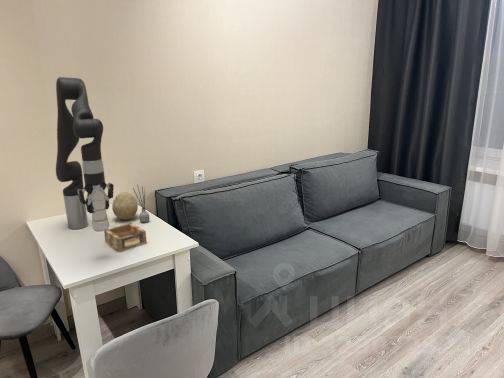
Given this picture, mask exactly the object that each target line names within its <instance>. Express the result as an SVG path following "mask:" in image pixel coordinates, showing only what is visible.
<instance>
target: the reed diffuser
mask: <svg viewBox="0 0 504 378" xmlns="http://www.w3.org/2000/svg"><path fill="white" fill-rule="evenodd" d="M137 188H138V193H139V196H138V195H137V193H136V190H135V188H134V187H133V188H132V190H133V191H134V194H135V195H136V197H137V200H138V202H139V204H140V206H141V212H140V213H139V222H141V223H148V222H150V214H149V212H148V211H146V208H145V204H146V203H145V201H146V193H144V190H143V189H144V188H143V187H141V190H142V194H143V196H142V195H141V192H140V188H139V184H137ZM141 196H142V197H141ZM139 197H140V198H139Z"/></svg>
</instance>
